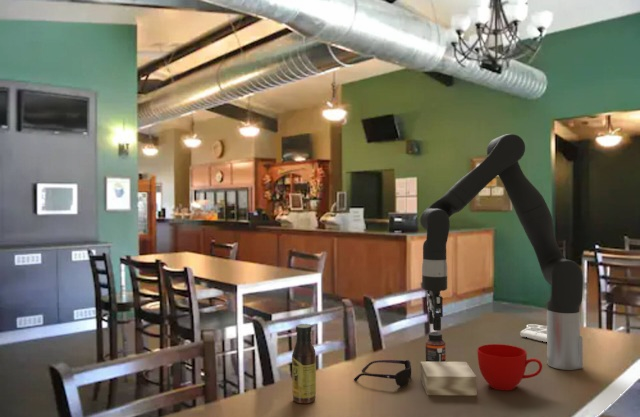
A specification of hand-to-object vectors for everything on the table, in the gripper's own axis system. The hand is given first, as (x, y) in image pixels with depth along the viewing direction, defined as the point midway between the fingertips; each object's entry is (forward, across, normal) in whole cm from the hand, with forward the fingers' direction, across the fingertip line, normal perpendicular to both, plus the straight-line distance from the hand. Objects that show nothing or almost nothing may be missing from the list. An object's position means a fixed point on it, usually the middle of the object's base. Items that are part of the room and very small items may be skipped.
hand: (434, 326), depth 159 cm
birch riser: (+13, -14, -1) cm, 19 cm away
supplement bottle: (+14, 0, 0) cm, 14 cm away
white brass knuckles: (+13, +39, -47) cm, 63 cm away
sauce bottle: (+14, -25, +38) cm, 47 cm away
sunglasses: (+14, -8, +16) cm, 23 cm away
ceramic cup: (+13, -14, -18) cm, 27 cm away
